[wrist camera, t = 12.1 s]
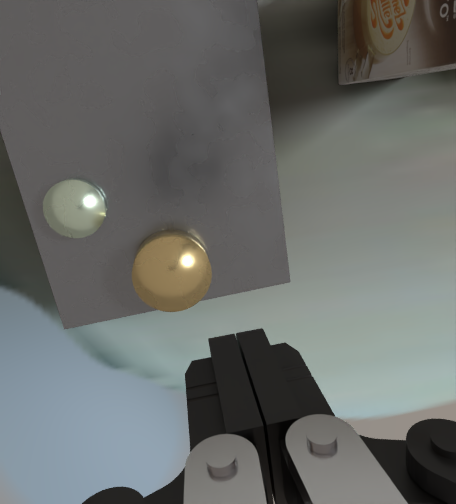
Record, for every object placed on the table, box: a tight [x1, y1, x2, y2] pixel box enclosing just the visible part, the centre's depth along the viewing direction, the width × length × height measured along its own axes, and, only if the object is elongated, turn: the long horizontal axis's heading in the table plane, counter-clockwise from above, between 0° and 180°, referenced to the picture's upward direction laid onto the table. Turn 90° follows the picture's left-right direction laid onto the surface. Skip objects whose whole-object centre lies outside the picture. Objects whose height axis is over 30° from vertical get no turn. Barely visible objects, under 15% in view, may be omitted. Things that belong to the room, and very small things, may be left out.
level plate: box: [0, 0, 290, 329], centre depth 25 cm, size 22×16×4 cm
